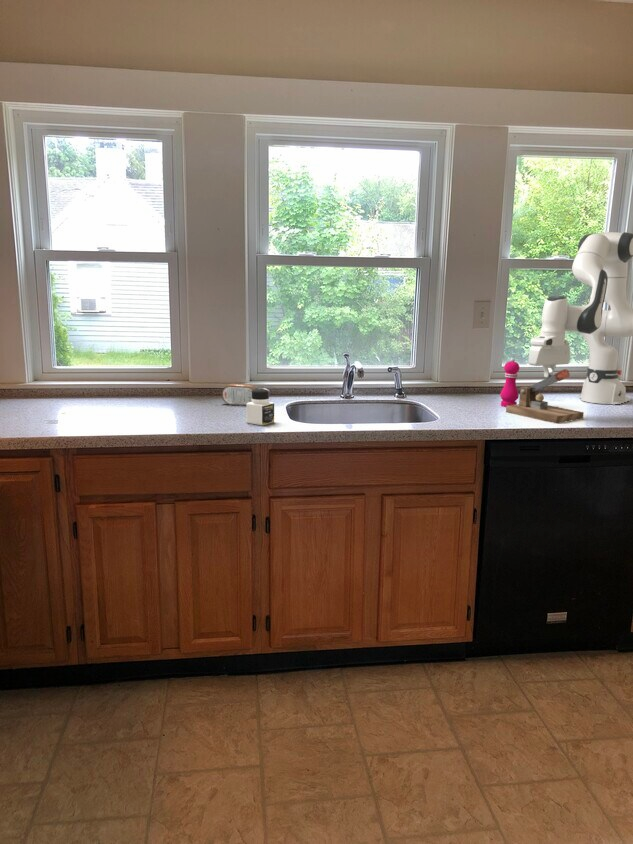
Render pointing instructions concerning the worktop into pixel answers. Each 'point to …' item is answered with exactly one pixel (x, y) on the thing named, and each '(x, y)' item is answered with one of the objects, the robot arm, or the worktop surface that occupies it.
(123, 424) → the worktop surface
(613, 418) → the worktop surface
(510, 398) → the pepper mill
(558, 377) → the lever
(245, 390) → the tin
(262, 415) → the medicine bottle
